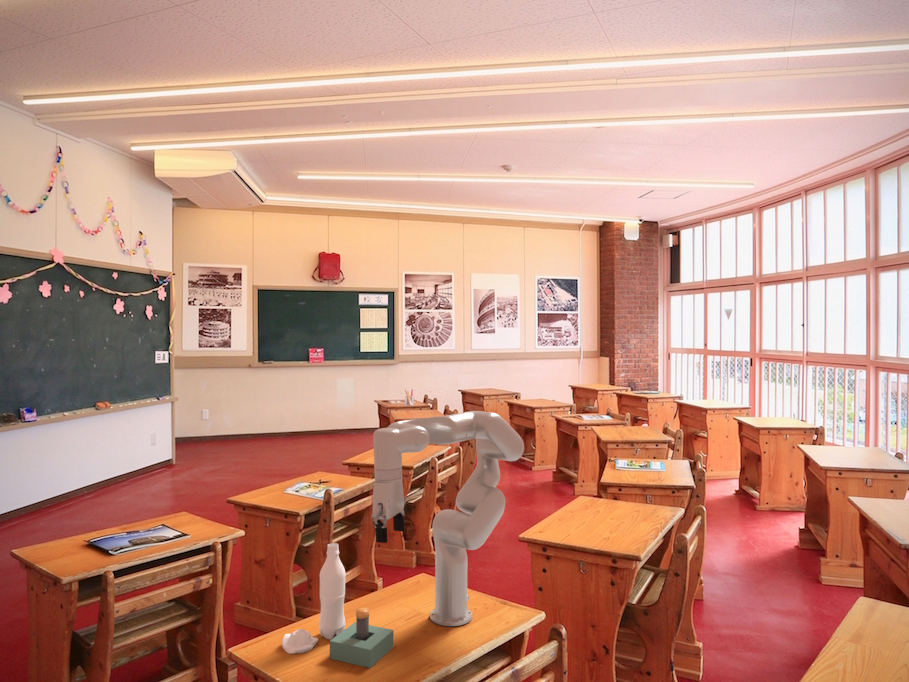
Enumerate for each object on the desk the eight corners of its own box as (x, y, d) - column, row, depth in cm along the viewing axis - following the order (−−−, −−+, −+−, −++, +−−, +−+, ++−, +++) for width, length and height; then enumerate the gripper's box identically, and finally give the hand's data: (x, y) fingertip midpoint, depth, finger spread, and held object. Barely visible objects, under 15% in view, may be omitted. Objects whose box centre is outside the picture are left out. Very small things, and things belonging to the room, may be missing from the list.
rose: (275, 628, 165) (308, 618, 171) (274, 645, 165) (308, 635, 171) (290, 641, 157) (325, 631, 163) (290, 659, 157) (324, 648, 163)
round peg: (360, 648, 162) (360, 606, 163) (371, 651, 161) (371, 608, 161) (353, 654, 159) (353, 611, 159) (364, 656, 158) (364, 613, 158)
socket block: (354, 638, 168) (354, 622, 168) (393, 647, 163) (393, 630, 163) (329, 658, 157) (329, 640, 157) (370, 668, 152) (370, 649, 152)
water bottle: (313, 635, 170) (314, 544, 170) (334, 627, 175) (335, 539, 175) (328, 644, 165) (329, 550, 165) (350, 635, 170) (351, 544, 171)
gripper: (391, 466, 176) (393, 525, 176) (359, 480, 160) (362, 545, 160) (414, 467, 173) (417, 528, 173) (385, 482, 157) (387, 548, 157)
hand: (390, 536), depth 167 cm, fingers open, 9 cm apart
